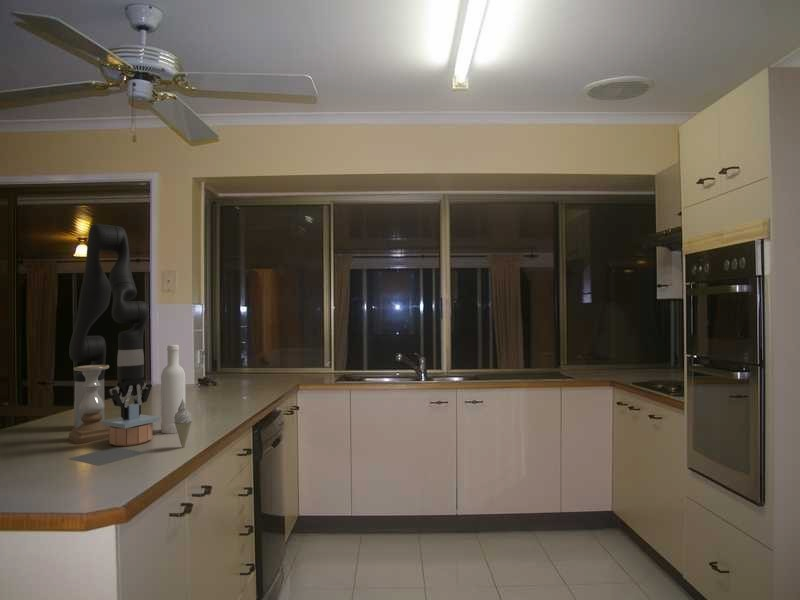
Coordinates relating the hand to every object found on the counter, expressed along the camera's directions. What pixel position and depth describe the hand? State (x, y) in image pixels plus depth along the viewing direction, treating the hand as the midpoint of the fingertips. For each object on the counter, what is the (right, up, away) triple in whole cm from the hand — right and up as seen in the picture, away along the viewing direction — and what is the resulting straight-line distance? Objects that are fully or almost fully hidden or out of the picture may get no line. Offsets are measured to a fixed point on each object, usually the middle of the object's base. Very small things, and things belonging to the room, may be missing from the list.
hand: (131, 417), depth 165 cm
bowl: (0, -8, 0) cm, 8 cm away
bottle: (+7, -8, +16) cm, 19 cm away
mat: (+2, -8, -16) cm, 18 cm away
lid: (0, -2, 0) cm, 2 cm away
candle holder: (-17, -9, +7) cm, 20 cm away
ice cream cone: (+20, -8, -8) cm, 23 cm away
